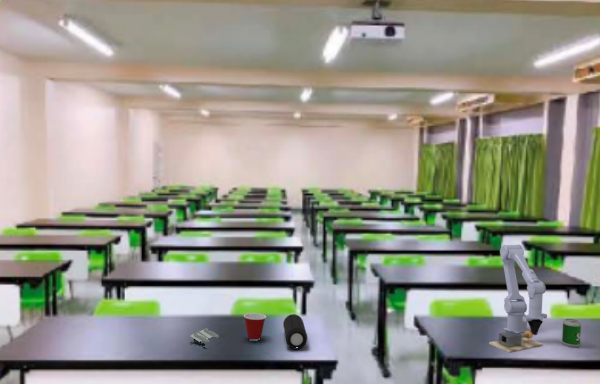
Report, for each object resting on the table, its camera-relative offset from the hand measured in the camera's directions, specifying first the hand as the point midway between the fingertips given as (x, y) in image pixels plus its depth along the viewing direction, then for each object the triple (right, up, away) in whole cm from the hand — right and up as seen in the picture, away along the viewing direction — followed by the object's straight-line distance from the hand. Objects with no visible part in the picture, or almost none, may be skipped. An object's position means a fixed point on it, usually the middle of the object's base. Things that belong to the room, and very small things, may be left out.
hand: (534, 334), depth 249 cm
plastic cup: (-135, -2, -4) cm, 135 cm away
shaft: (-9, -2, -4) cm, 10 cm away
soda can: (+15, -4, -5) cm, 17 cm away
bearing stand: (-11, -4, -5) cm, 13 cm away
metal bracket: (-157, -2, -8) cm, 157 cm away
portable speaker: (-116, -2, -5) cm, 116 cm away
